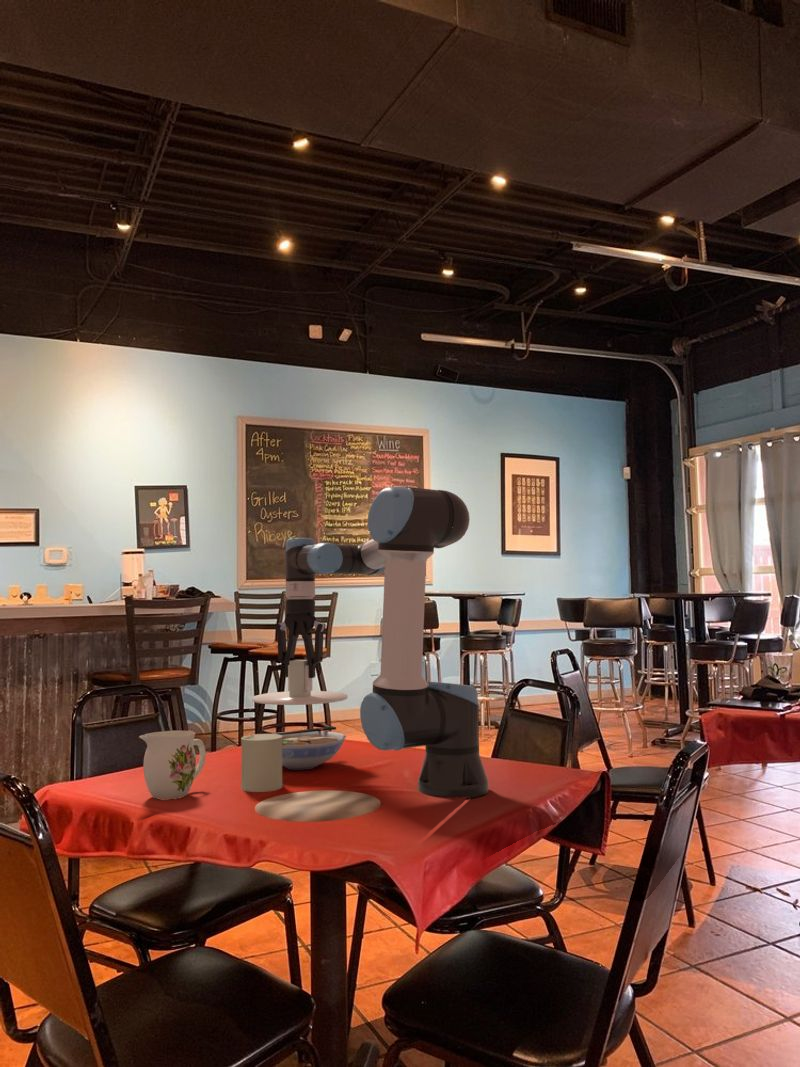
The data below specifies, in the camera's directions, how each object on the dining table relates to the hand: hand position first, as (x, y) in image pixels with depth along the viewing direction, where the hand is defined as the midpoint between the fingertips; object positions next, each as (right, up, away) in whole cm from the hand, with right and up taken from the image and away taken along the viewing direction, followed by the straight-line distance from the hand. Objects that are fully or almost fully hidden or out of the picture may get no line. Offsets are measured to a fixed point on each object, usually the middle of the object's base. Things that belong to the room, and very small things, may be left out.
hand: (300, 690), depth 204 cm
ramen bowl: (0, -19, -2) cm, 19 cm away
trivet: (+9, -15, -43) cm, 47 cm away
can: (-5, -17, -26) cm, 32 cm away
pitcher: (-24, -17, -30) cm, 42 cm away
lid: (0, -2, 0) cm, 2 cm away
